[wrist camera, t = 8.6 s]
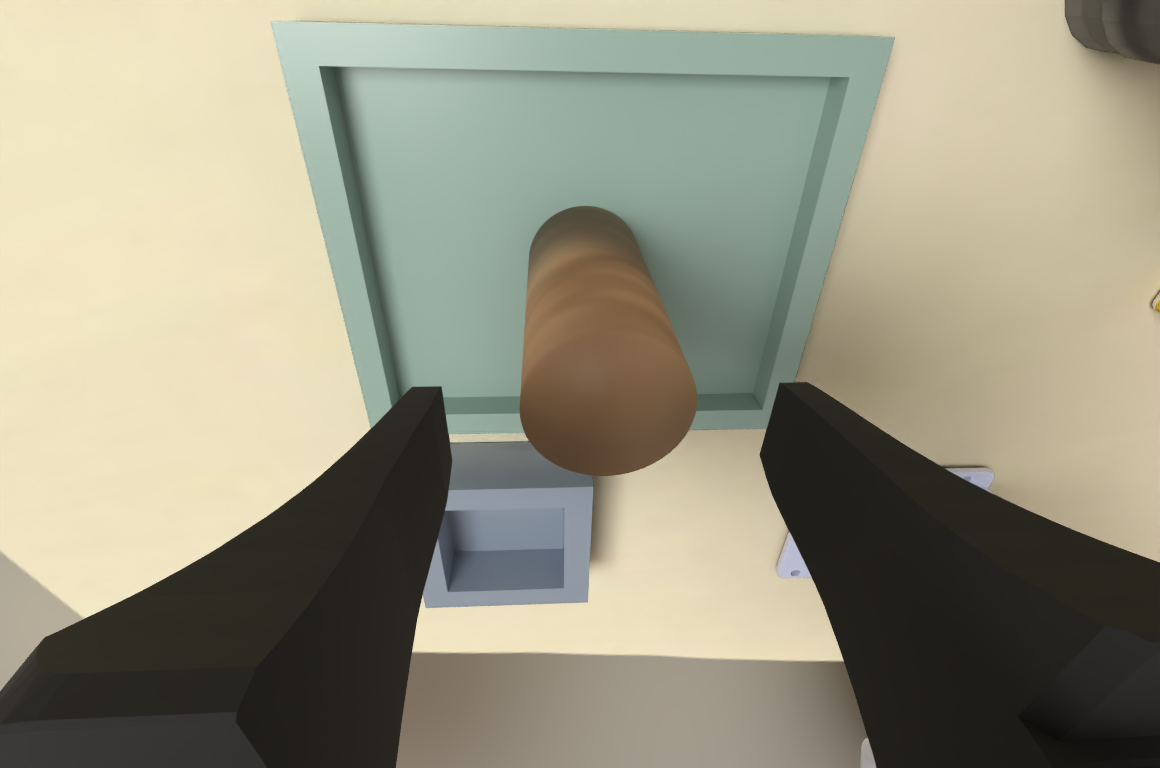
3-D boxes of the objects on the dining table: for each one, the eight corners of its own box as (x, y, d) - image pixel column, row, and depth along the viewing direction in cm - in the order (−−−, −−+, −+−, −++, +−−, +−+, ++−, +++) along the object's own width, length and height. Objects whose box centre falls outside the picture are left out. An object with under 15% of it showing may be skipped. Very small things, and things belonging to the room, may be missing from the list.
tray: (863, 35, 17) (895, 37, 15) (766, 403, 24) (780, 428, 23) (296, 20, 16) (270, 21, 14) (383, 408, 23) (372, 435, 22)
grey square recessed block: (588, 440, 25) (593, 486, 23) (584, 553, 30) (587, 602, 27) (413, 443, 25) (399, 491, 22) (436, 557, 29) (425, 608, 27)
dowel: (645, 208, 19) (713, 334, 11) (632, 312, 21) (681, 476, 13) (529, 203, 18) (518, 330, 11) (528, 310, 21) (520, 475, 13)
